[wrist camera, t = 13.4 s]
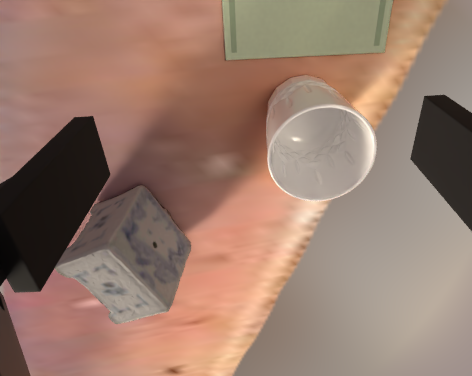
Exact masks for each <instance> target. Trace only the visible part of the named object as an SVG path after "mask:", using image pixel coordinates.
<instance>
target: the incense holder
mask: <svg viewBox="0 0 472 376" xmlns="http://www.w3.org/2000/svg"><path fill="white" fill-rule="evenodd" d="M90 213H91V215H92V216H90V220H89V222H88V223H87V224H86V226H85V228H84V230H83V231H82V232H81V233H80V235H79V237H78V238H77V240H76V241H75V242H74V243H73V244H72V245H71V246H70V247H69V248H67V249H66V250H65V251H64V253H63V255H62V256H61V258H60V260H59V261H58V263H57V265H56V266H55V269H56V271H57V272H58V273H60V274H61V275H63V276H65V277H68V278H74V279H76V280H77V281H79V282H80V283H81V284H82V285H84V286H85V287H86V288H87V289H88V290H89V291H90V292H91V293H92V294H93V295H94V296H95V297H96V298H97V299H98V300H99V301H100V302H101V303H102V304H104V305H105V307H106V308H107V309H108V310H110V311H111V312H110V313H109V318H110V320H111V321H112V322H114V323H115V324H120V323H125V322H130V321H134V320H137V319H141V318H144V317H147V316H153V315H155V314H160V313H165V312H168V311H169V309H170V307H171V306H172V303H173V300H174V297H175V294H176V291H177V288H178V285H179V281H180V278H181V276H182V273H183V270H184V267H185V263H186V260H187V259H188V256H189V253H190V251H191V243H190V241H189V239H188V238H187V237H186V236H185V235H184V234H183V232H182V231H181V230H180V229H179V228H178V227H177V226H176V224H175V223H174V222H173V220H172V219H171V217H170V214H169V212H168V211H167V209H163V208H162V207H161V206H160V204H159V203H158V202H157V200H156V199H155V198H154V197H153V195H152V194H151V193H150V191H149V190H148V189H147V188H146V187H144V186H143V185H141V186H137V187H135V188H134V189H131V190H129V191H127V192H125V193H124V194H121V195H119V196H117V197H114V198H112V199H110V200H106V201H104V202H101V203H97V204H94V206H93V208H92V209H91V211H90Z"/></svg>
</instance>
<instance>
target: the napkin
mask: <svg viewBox="0 0 472 376" xmlns="http://www.w3.org/2000/svg"><path fill="white" fill-rule="evenodd" d="M392 3H393V0H222V8H223V24H224V41H225V57H226V60H241V59H262V58H282V57H303V56H324V55H344V54H365V53H384V52H385V46H386V40H387V34H388V28H389V21H390V15H391V9H392Z"/></svg>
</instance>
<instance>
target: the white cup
mask: <svg viewBox="0 0 472 376" xmlns="http://www.w3.org/2000/svg"><path fill="white" fill-rule="evenodd" d="M266 141H267V158H268V167H269V171H270V174H271V176H272V178H273V180H274V181H275V183H276V184H277V185H278V186H279V187H280V188H281V189H282V190H283V191H284V192H286V193H287V194H289V195H291V196H293V197H295V198H298V199H301V200H306V201H325V200H330V199H334V198H337V197H339V196H342V195H344V194H346V193H348V192H349V191H351V190H352V189H354V188H355V187H356V186H358V185H359V184H360V183H361V182H362V181H363V180H364V179H365V177H366V176H367V175H368V173H369V172H370V170H371V168H372V166H373V164H374V161H375V157H376V152H377V141H376V136H375V133H374V130H373V128H372V126H371V125H370V123H369V122H368V120H367V119H366V118H365V117H364V116H363V115H362V114H361V113H360V112H359V111H358V110H357V109H356V108H355V107H354V106H353V105H352V104H350V103H349V102H348V101H347V100H346V99H345V98H344V97H343V96H342V95H341V94H340V93H339V92H338V91H337V90H335V89H334V88H332V87H331V86H329V85H328V84H327V83H326V82H325V81H324V80H323V79H321V78H317V77H313V76H310V75H302V76H297V77H291V78H289V79H288V80H286V81H285V82H283V83H282V84H281V85H279V86H278V87H276V89H275V91H274V92H273V94H272V96H271V97H270V99H269V101H268V108H267V118H266Z"/></svg>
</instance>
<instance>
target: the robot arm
mask: <svg viewBox="0 0 472 376" xmlns="http://www.w3.org/2000/svg"><path fill="white" fill-rule="evenodd" d="M411 160H412V161H413V162H414V164H415V165H416V166H417V167H418V168H419V170H420V171H421V172H422V173H423V174H424V175H425V177H426V178H427V179H428V180H429V181H430V183H431V184H432V185H433V186H434V187H435V188H436V189H437V191H438V192H439V193H440V194H441V196H442V197H444V199H445V200H446V201H447V203H448V204H449V205H450V206H451V207H452V209H453V210H454V211H455V212H456V213H457V214H458V216H459V217H460V218H461V219H462V220H463V221H464V223H465V224H466V225H467V226H468V227H469V229H470V230H471V231H472V113H471V112H469V111H468V110H466V109H465V108H463V107H462V106H460V105H459V104H457V103H456V102H454V101H453V100H451V99H450V98H449V97H447V96H445V95H435V96H424V101H423V105H422V110H421V114H420V118H419V123H418V127H417V132H416V136H415V141H414V145H413V150H412V154H411ZM109 176H110V171H109V168H108V165H107V161H106V158H105V155H104V151H103V148H102V145H101V141H100V138H99V135H98V131H97V128H96V124H95V121H94V118H93V116H89V117H74V118H73V119H72V120H71V121H70V122H69V123H68V124H67V125H66V126H65V127H64V128H63V129H62V130H61V131H60V132H59V133H58V134H57V135H56V136H55V137H54V138H52V139H51V140H50V141H49V142H48V143H47V144H46V145H45V146H44V147H43V148H42V149H41V150H40V151H39V152H38V153H37V154H36V155H35V156H34V157H33V158H32V159H31V160H30V161H28V162H27V163H26V164H25V165H24V166H23V167H22V168H21V169H20V170H19V171H18V172H17V173H16V174H15V175H14V176H13V177H11V178H9V179H8V180H6V181H4V182H2V183H1V184H0V286H1V284H2V283H3V282H4V280H5V279H6V278H7V280H8V282H9V284H10V285H11V287H12V289H13V290H14V292H40V291H41V290H42V288H43V286H44V285H45V283H46V281H47V280H48V278H49V276H50V275H51V273H52V271H53V270H54V268H55V266H56V265H57V263H58V261H59V260H60V258H61V256H62V255H63V253H64V251H65V250H66V248H67V246H68V245H69V243H70V241H71V240H72V238H73V236H74V235H75V233H76V231H77V230H78V228H79V226H80V225H81V223H82V221H83V220H84V218H85V216H86V215H87V213H88V211H89V210H90V208H91V206H92V205H93V203H94V201H95V200H96V198H97V196H98V195H99V193H100V191H101V190H102V188H103V186H104V185H105V183H106V181H107V180H108V178H109ZM0 376H30V373H29V370H28V367H27V364H26V361H25V358H24V355H23V352H22V349H21V346H20V344H19V341H18V338H17V335H16V332H15V329H14V326H13V323H12V320H11V317H10V314H9V311H8V308H7V306H6V303H5V300H4V297H3V295H2V294H1V292H0Z"/></svg>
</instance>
